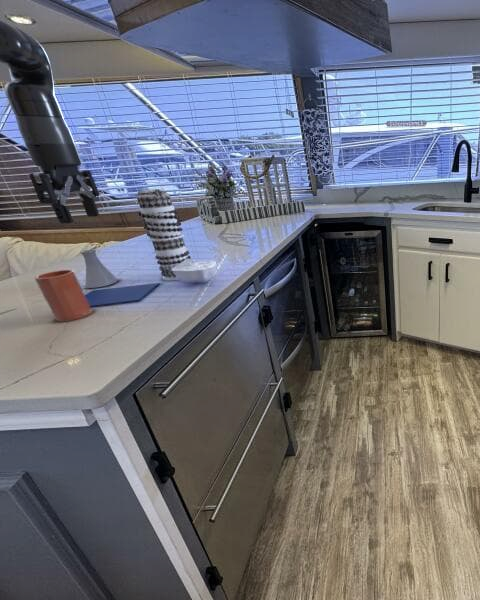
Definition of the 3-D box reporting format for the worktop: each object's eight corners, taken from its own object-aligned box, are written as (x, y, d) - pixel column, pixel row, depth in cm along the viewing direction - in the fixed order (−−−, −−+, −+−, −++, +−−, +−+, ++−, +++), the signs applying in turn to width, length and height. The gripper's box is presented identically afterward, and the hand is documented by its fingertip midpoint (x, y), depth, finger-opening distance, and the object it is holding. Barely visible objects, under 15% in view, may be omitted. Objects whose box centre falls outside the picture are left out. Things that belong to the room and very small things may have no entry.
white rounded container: (200, 290, 85) (193, 265, 83) (168, 286, 89) (160, 263, 86) (230, 277, 94) (224, 255, 91) (199, 274, 98) (193, 253, 95)
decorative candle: (188, 279, 94) (160, 190, 84) (154, 282, 93) (121, 191, 83) (202, 270, 102) (177, 187, 92) (171, 272, 101) (142, 189, 91)
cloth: (61, 310, 76) (60, 309, 76) (93, 291, 88) (92, 290, 87) (139, 301, 80) (138, 299, 80) (159, 284, 91) (159, 282, 91)
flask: (94, 282, 95) (79, 249, 91) (122, 278, 97) (109, 246, 93) (80, 290, 89) (63, 255, 85) (111, 286, 91) (96, 252, 87)
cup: (49, 323, 70) (26, 280, 66) (67, 312, 75) (47, 271, 71) (82, 319, 71) (61, 276, 67) (97, 308, 76) (79, 268, 73)
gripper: (56, 143, 74) (84, 214, 80) (-4, 140, 61) (36, 226, 68) (93, 143, 75) (118, 214, 81) (42, 140, 62) (77, 225, 69)
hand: (81, 219), depth 74 cm, fingers open, 8 cm apart
